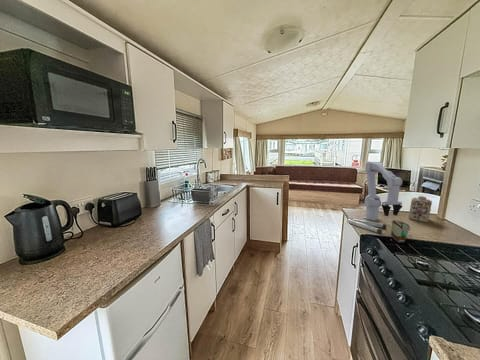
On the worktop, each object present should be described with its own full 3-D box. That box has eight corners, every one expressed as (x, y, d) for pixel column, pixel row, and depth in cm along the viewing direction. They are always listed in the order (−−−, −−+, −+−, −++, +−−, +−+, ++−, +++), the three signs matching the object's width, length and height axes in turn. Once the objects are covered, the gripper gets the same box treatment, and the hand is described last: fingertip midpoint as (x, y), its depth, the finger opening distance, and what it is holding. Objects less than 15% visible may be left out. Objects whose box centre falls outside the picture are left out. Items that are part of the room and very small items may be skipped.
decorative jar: (428, 219, 161) (432, 197, 158) (428, 223, 152) (432, 199, 149) (409, 215, 169) (412, 194, 166) (407, 218, 160) (411, 196, 157)
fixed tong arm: (348, 222, 149) (348, 218, 149) (381, 233, 131) (382, 229, 130) (347, 222, 148) (347, 219, 148) (380, 234, 130) (381, 230, 130)
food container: (412, 245, 116) (415, 228, 115) (400, 243, 117) (403, 227, 116) (400, 235, 128) (403, 220, 126) (389, 234, 129) (392, 219, 128)
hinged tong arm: (349, 222, 149) (349, 218, 148) (349, 221, 150) (349, 217, 150) (385, 228, 139) (386, 224, 138) (385, 227, 140) (386, 223, 140)
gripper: (390, 197, 129) (387, 217, 131) (407, 196, 133) (405, 216, 135) (380, 194, 136) (377, 214, 138) (396, 194, 140) (394, 213, 141)
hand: (390, 215), depth 137 cm, fingers open, 7 cm apart
